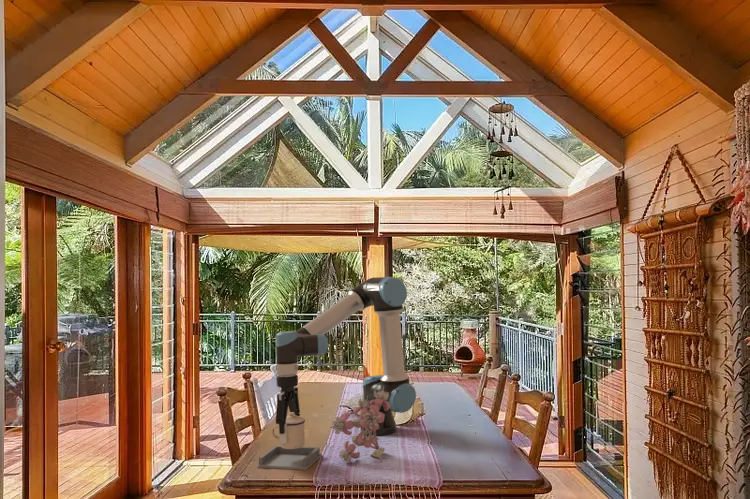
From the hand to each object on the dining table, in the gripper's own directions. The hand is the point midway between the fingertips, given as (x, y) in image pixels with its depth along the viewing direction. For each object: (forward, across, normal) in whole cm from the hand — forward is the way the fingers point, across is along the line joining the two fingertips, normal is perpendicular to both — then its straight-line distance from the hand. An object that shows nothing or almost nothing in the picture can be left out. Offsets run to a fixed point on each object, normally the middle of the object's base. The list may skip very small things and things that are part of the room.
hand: (288, 438), depth 201 cm
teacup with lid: (+3, 0, 0) cm, 3 cm away
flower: (+8, +6, -25) cm, 27 cm away
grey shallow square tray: (+8, +1, 0) cm, 8 cm away
